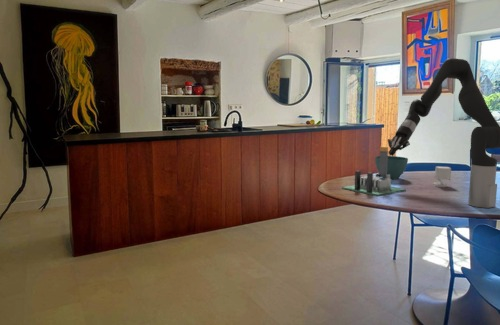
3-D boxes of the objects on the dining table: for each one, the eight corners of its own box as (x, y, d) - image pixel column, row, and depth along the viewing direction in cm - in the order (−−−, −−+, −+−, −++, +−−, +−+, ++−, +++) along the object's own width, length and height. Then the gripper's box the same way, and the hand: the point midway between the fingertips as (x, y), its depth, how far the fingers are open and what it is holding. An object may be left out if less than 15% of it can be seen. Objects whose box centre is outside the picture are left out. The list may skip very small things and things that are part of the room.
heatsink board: (405, 190, 196) (406, 171, 195) (377, 196, 184) (378, 175, 182) (369, 184, 214) (370, 166, 213) (342, 188, 202) (342, 169, 200)
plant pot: (408, 177, 236) (409, 156, 234) (405, 182, 220) (406, 160, 218) (377, 174, 244) (378, 155, 243) (371, 179, 228) (372, 158, 227)
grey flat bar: (387, 177, 200) (388, 147, 198) (385, 177, 200) (387, 147, 198) (379, 176, 204) (381, 146, 202) (378, 176, 203) (379, 146, 201)
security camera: (450, 187, 205) (451, 168, 204) (435, 186, 206) (436, 168, 205) (446, 185, 211) (447, 166, 210) (432, 184, 213) (433, 166, 211)
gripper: (392, 124, 212) (376, 148, 207) (414, 125, 202) (398, 150, 196) (397, 134, 216) (382, 157, 211) (420, 135, 205) (404, 160, 200)
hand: (390, 154), depth 204 cm, fingers closed
